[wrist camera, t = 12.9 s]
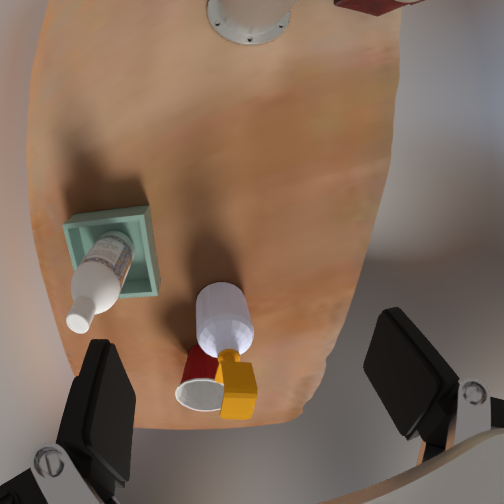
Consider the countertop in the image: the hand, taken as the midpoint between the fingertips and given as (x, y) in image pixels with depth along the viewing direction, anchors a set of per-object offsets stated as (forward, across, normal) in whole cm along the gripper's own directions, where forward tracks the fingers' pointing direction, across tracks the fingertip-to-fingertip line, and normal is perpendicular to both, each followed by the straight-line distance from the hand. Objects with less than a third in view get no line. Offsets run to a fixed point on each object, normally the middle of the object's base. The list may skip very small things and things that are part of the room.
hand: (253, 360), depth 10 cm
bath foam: (+37, +17, +12) cm, 43 cm away
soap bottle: (+38, 0, +24) cm, 45 cm away
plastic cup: (+38, +5, +37) cm, 53 cm away
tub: (+38, +17, +12) cm, 43 cm away
